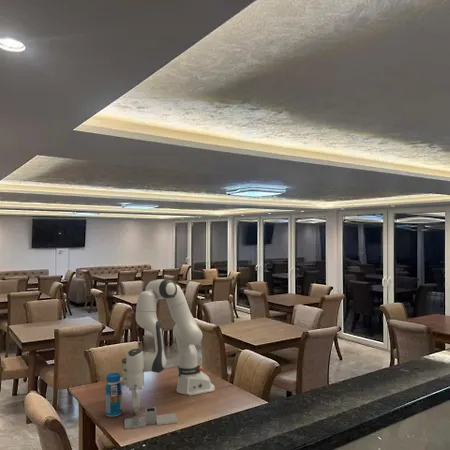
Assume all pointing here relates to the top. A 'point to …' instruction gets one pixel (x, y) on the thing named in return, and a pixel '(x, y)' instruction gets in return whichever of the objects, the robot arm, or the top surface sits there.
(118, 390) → the beverage bottle
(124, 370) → the coffee can
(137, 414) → the pin
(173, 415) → the hinge leaves
